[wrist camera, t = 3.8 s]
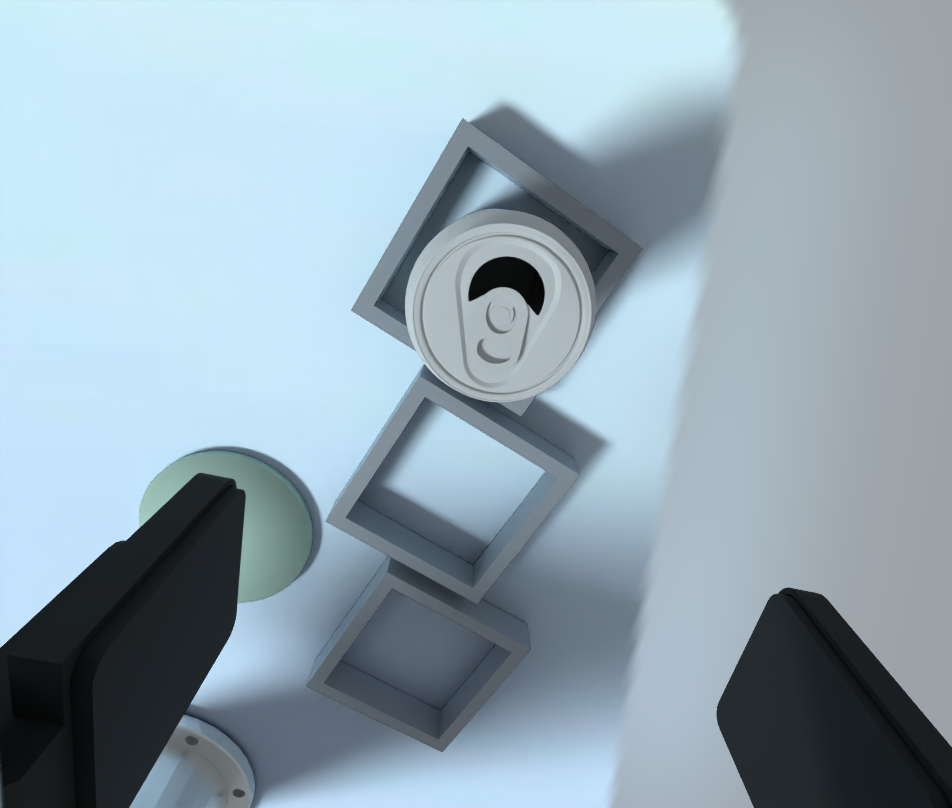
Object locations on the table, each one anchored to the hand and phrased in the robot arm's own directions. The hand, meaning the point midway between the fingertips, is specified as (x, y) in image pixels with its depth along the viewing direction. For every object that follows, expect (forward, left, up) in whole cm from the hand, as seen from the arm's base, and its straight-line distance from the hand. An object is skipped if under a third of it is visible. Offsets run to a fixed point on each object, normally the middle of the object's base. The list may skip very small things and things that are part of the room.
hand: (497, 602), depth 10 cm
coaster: (-18, +7, -21) cm, 29 cm away
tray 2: (-8, -3, -21) cm, 23 cm away
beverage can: (+3, +2, -21) cm, 22 cm away
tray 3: (-19, -7, -21) cm, 29 cm away
